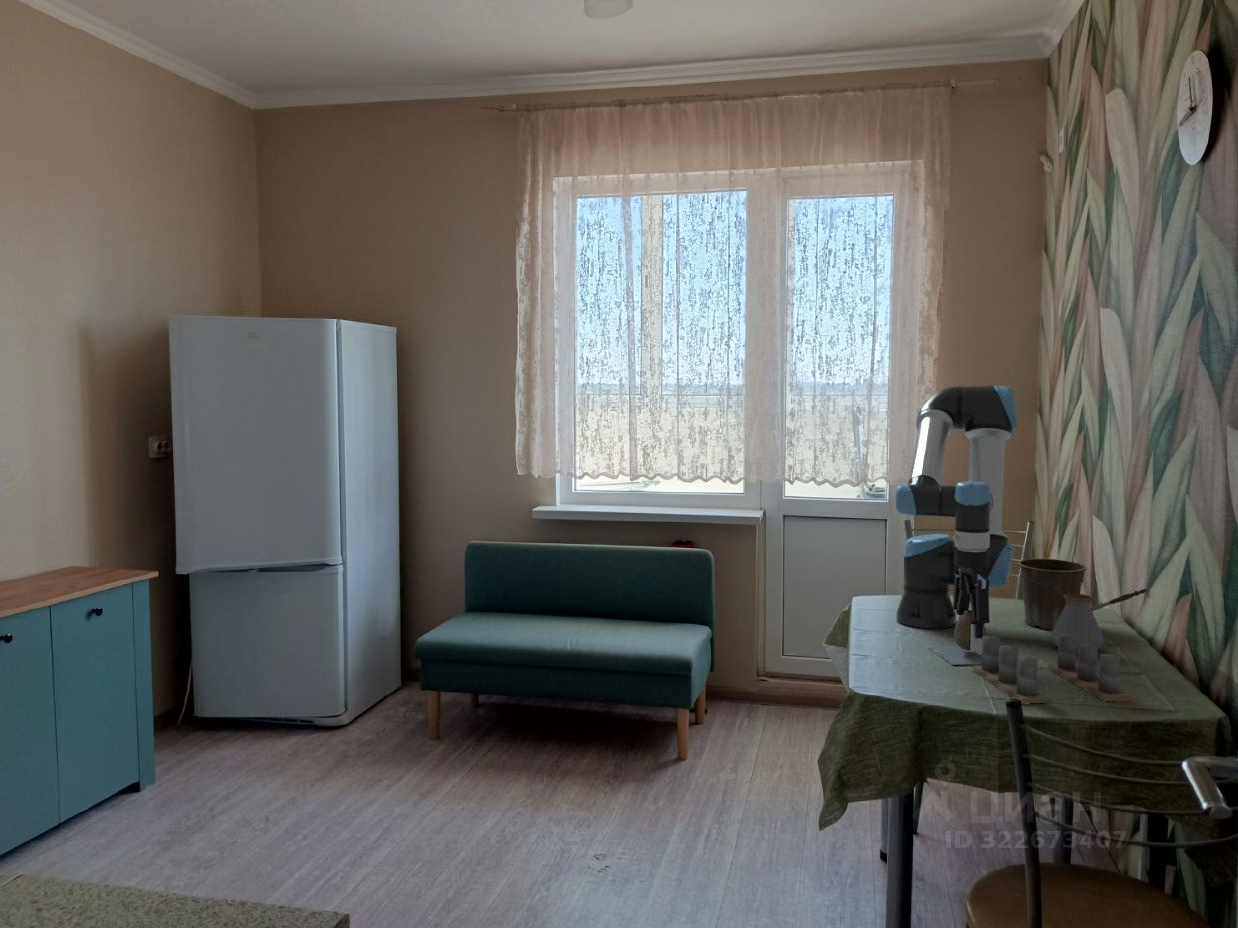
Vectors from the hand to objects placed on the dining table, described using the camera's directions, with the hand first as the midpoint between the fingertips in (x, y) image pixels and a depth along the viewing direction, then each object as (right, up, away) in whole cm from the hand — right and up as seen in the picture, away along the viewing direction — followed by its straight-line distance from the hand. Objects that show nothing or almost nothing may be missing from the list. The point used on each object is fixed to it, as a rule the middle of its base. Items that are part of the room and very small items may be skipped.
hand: (969, 646), depth 216 cm
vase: (0, -1, 0) cm, 1 cm away
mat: (0, -2, 0) cm, 2 cm away
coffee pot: (+32, -2, +4) cm, 32 cm away
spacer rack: (+8, -4, -21) cm, 23 cm away
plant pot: (+32, 0, +28) cm, 42 cm away
